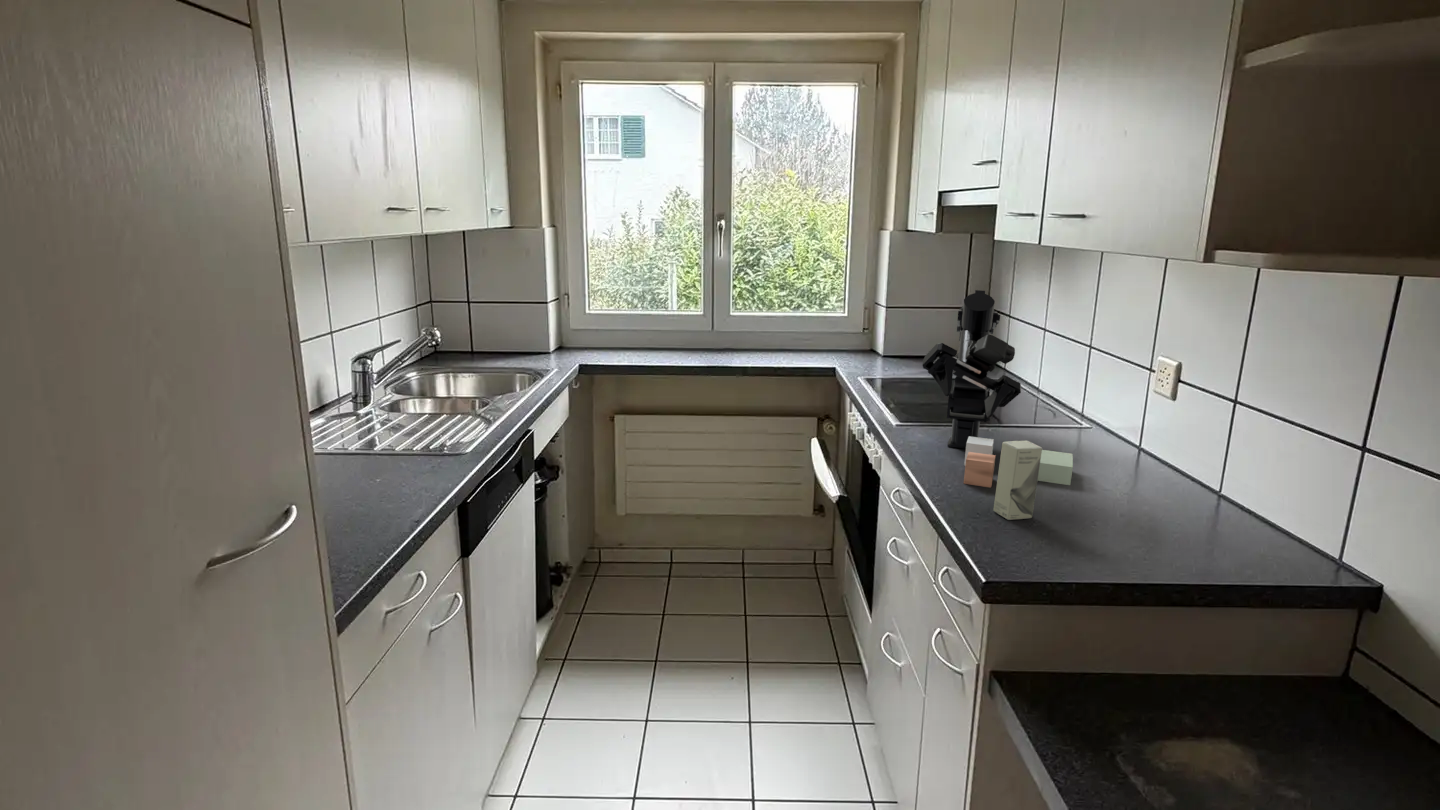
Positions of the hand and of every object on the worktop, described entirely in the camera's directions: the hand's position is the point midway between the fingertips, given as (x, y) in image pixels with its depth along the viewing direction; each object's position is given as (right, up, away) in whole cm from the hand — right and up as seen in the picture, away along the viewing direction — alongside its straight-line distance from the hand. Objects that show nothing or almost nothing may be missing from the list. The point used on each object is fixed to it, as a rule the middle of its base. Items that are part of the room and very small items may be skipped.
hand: (968, 406), depth 145 cm
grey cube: (+7, -12, +15) cm, 20 cm away
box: (+4, -19, -11) cm, 23 cm away
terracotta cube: (+3, -15, +5) cm, 16 cm away
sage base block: (+18, -14, +9) cm, 25 cm away
